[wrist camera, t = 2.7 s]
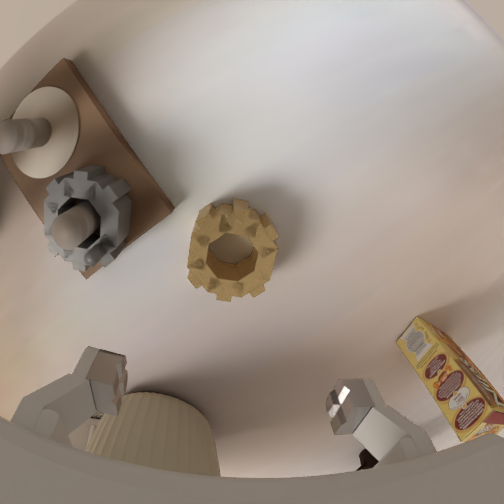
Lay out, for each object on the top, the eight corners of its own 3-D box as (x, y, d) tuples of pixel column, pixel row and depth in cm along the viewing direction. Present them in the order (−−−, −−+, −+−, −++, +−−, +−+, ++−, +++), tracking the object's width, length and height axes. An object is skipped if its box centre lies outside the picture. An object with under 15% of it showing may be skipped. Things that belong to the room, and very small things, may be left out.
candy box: (393, 342, 31) (458, 445, 16) (417, 313, 29) (494, 411, 15) (431, 359, 33) (488, 443, 19) (452, 334, 32) (517, 415, 17)
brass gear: (292, 253, 25) (300, 269, 23) (220, 297, 27) (220, 316, 24) (244, 180, 23) (246, 187, 20) (168, 232, 24) (161, 246, 21)
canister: (83, 419, 33) (48, 541, 14) (112, 344, 28) (47, 529, 9) (195, 461, 38) (193, 579, 18) (259, 404, 33) (280, 571, 13)
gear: (156, 221, 22) (139, 243, 18) (94, 270, 23) (71, 298, 19) (100, 145, 19) (71, 150, 15) (43, 204, 20) (12, 220, 16)
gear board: (174, 207, 23) (156, 235, 17) (92, 272, 25) (61, 310, 19) (71, 61, 18) (28, 46, 12) (2, 140, 19) (-44, 149, 13)
